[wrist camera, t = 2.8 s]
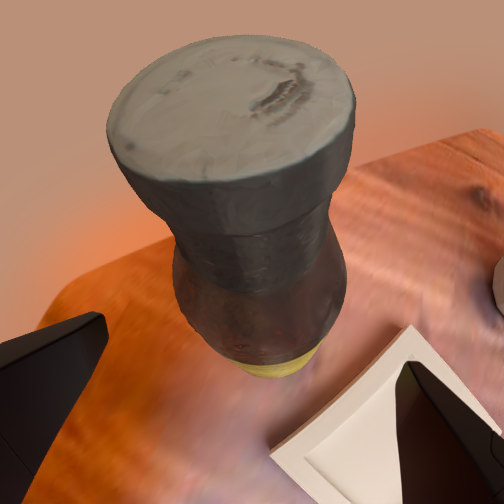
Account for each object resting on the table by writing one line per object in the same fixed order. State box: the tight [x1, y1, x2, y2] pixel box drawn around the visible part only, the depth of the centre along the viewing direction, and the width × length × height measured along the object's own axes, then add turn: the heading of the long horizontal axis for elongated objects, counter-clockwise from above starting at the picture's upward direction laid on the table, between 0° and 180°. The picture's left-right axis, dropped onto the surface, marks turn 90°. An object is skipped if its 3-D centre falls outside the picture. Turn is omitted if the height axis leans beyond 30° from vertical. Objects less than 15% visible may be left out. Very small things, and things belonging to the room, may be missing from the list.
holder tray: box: [269, 324, 502, 504], centre depth 17 cm, size 13×13×2 cm
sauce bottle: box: [106, 35, 356, 378], centre depth 13 cm, size 6×6×20 cm
